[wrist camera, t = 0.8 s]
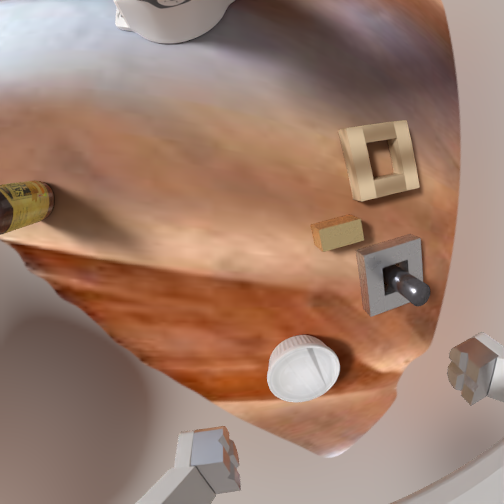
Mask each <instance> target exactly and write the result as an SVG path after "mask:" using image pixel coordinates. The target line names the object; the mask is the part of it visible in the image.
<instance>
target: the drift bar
mask: <svg viewBox="0 0 504 504" xmlns="http://www.w3.org/2000/svg"><path fill="white" fill-rule="evenodd" d="M311 229H312V234H313V238H314V243H315V245H316V246H317V247H318V248H319V249H320V250H321V251H322V252H325V251H329V250H332V249H336V248H339V247H343V246H346V245H350V244H353V243H357V242H360V241H364V236H363V229H362V223H361V219H360V218H357V217H355V216H352V215H350V214H349V215H345V216H341V217H337V218H334V219H330V220H326V221H322V222H318V223H315V224H311Z"/></svg>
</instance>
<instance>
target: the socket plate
mask: <svg viewBox="0 0 504 504" xmlns="http://www.w3.org/2000/svg"><path fill="white" fill-rule="evenodd" d="M356 257H357V264H358V271H359V278H360V286H361V294H362V303H363V309H364V310H365V311H366V312H367V313H368V314H369V315H370V317H371V316H374V315H377V314H380V313H383V312H385V311H388V310H391V309H393V308H396V307H399V306H401V305H404V304H406V303H409V302H410V301H408V300H407V299H406V298H405V297H403V296H402V295H401V294H399V293H398V292H397V291H396V290H394V289H393V288H392V287H390V286H389V285H386V286H384V281H383V271H382V268H384V267H387V266H390V265H393V264H396V263H399V267H400V268H402V269H403V270H405V271H406V272H408V273H410V274H411V275H413V276H414V277H416V278H418V279H419V280H421V281H422V282H423V270H422V253H421V240H420V238H419V237H417V236H414V235H412V234H408V235H405V236H402V237H398V238H395V239H392V240H388V241H385V242H382V243H378V244H375V245H372V246H368V247H365V248H362V249H358V250H356Z"/></svg>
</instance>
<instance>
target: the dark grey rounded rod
mask: <svg viewBox="0 0 504 504" xmlns="http://www.w3.org/2000/svg"><path fill="white" fill-rule="evenodd" d="M382 271H383V281H384V282H385V283H386V284H388V285H389V286H390V287H392V288H393V289H394V290H396V291H397V292H398V293H399V294H401V295H402V296H403V297H405V298H406V299H407V300H408V301H410V302H411V303H412V304H414V305H415V306H421V305H423V304H425V303H426V302H427V300H428V299H429V296H430V287H429V286H428V285H427V284H425V283H424V282H422V281H421V280H419V279H418V278H416V277H414V276H413V275H411V274H410V273H408V272H406V271H405V270H403V269H402V268H400V267H398V266H397V265H395V264H393V265H390V266H387V267H384V268H382Z"/></svg>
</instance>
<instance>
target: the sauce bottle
mask: <svg viewBox="0 0 504 504" xmlns="http://www.w3.org/2000/svg"><path fill="white" fill-rule="evenodd" d="M53 206H54V195H53V193H52V190H51V188H50V187H49V186H48V185H47V184H46V183H44V182H41V181H27V182H19V183H11V184H4V185H0V234H4V233H7V232H10V231H13V230H16V229H19V228H22V227H25V226H28V225H31V224H34V223H37V222H39V221H41V220H43V219H45V218H46V217H47V216H49V215H50V213H51V211H52V209H53Z"/></svg>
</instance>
